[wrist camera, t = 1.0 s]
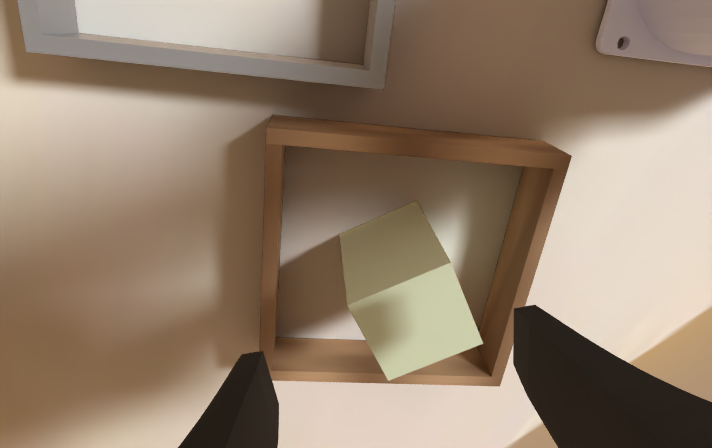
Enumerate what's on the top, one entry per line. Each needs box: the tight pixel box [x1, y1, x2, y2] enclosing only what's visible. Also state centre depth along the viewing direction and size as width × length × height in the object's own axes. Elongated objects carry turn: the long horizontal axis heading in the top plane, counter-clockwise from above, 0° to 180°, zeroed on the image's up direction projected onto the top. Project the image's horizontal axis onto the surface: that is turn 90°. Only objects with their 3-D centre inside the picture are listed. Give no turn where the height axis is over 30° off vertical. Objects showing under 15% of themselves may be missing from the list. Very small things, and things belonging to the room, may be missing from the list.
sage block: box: [339, 201, 483, 381], centre depth 19 cm, size 4×4×6 cm
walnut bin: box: [260, 115, 572, 386], centre depth 21 cm, size 12×12×2 cm
